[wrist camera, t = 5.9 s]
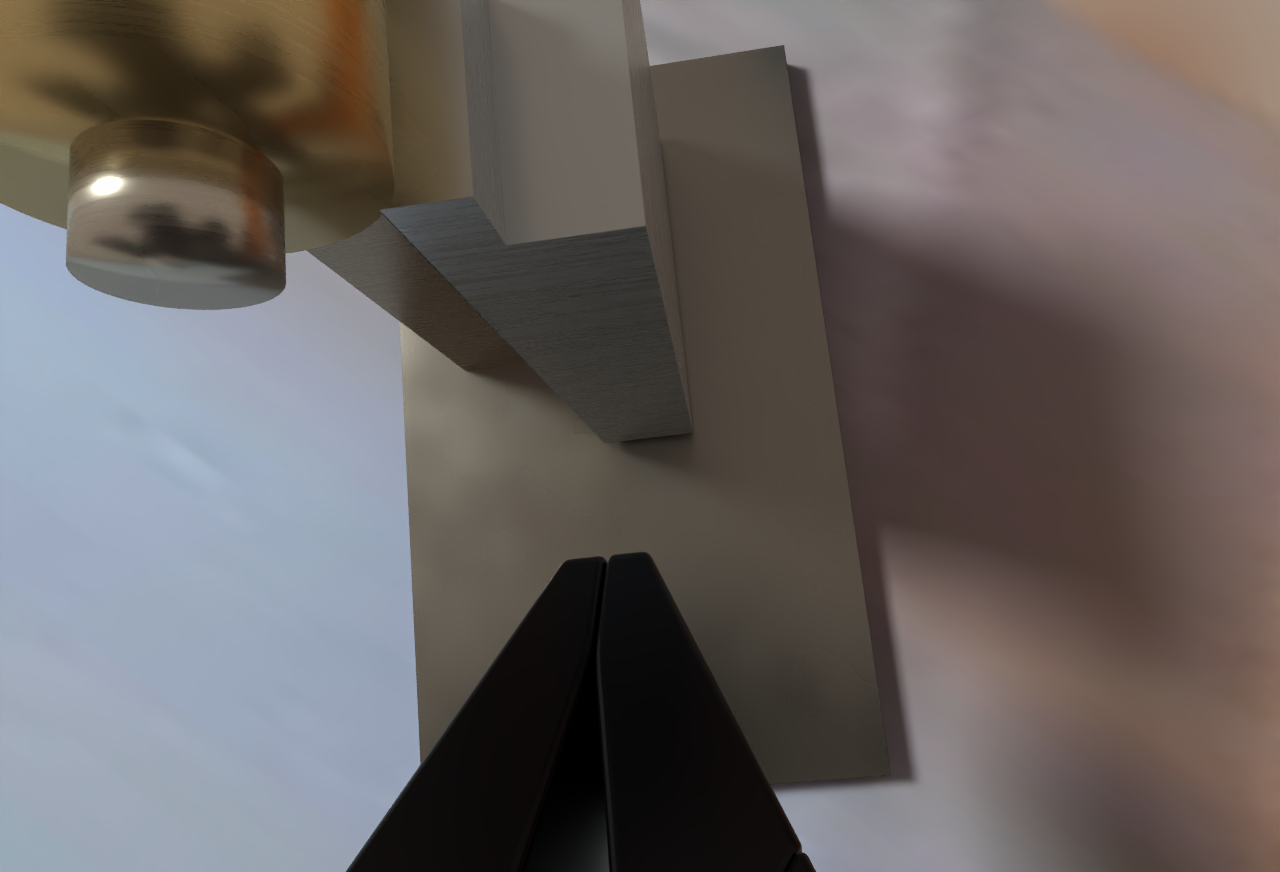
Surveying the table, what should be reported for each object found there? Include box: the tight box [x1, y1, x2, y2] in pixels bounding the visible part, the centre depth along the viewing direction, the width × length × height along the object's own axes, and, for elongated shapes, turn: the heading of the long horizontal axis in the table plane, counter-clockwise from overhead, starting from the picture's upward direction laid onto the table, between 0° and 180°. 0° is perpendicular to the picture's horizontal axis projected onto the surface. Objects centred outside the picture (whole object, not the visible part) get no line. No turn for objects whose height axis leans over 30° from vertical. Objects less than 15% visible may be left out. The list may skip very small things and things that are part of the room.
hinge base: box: [307, 45, 891, 784], centre depth 9 cm, size 14×8×12 cm, turn 6°
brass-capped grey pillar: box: [0, 0, 693, 443], centre depth 9 cm, size 7×4×11 cm, turn 6°
